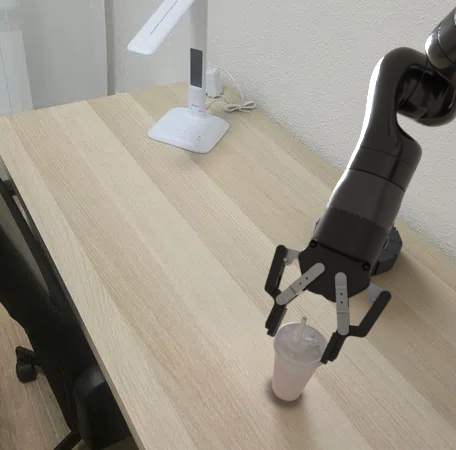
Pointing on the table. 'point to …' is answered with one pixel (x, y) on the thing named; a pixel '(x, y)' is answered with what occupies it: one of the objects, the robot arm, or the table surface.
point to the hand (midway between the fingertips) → (296, 348)
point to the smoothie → (296, 358)
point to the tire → (386, 252)
